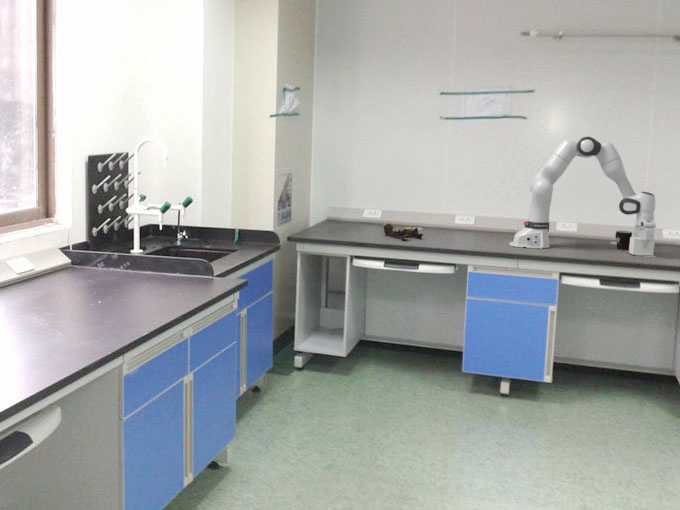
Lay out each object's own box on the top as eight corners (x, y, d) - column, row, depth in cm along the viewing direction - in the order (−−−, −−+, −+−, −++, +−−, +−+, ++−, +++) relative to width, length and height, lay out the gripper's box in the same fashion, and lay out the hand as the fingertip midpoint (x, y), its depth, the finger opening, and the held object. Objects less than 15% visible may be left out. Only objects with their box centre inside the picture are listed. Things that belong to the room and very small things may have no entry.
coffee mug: (631, 250, 445) (633, 233, 443) (615, 249, 446) (617, 232, 445) (628, 247, 456) (630, 230, 454) (613, 246, 458) (614, 229, 456)
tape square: (637, 256, 426) (637, 256, 426) (631, 253, 436) (631, 252, 436) (655, 257, 426) (655, 256, 426) (649, 253, 436) (649, 253, 436)
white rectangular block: (632, 254, 428) (634, 238, 426) (628, 252, 435) (630, 237, 433) (653, 255, 428) (654, 239, 426) (648, 253, 435) (650, 237, 433)
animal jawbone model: (401, 238, 483) (405, 222, 481) (424, 247, 462) (429, 230, 461) (378, 234, 473) (382, 218, 472) (401, 243, 453) (405, 226, 452)
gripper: (632, 219, 438) (629, 243, 441) (645, 224, 418) (642, 250, 421) (643, 219, 438) (641, 244, 441) (657, 224, 418) (654, 250, 421)
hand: (642, 247), depth 431 cm, fingers closed on white rectangular block, 7 cm apart
